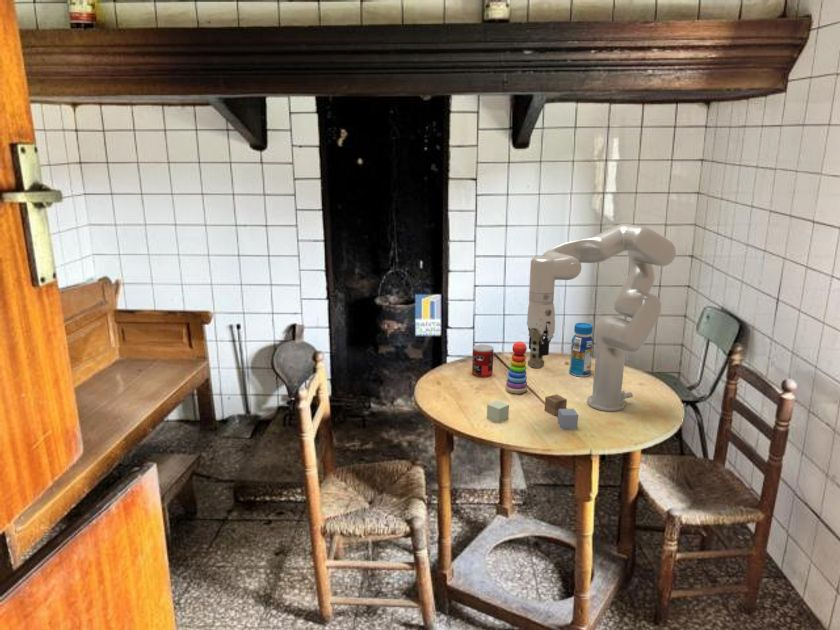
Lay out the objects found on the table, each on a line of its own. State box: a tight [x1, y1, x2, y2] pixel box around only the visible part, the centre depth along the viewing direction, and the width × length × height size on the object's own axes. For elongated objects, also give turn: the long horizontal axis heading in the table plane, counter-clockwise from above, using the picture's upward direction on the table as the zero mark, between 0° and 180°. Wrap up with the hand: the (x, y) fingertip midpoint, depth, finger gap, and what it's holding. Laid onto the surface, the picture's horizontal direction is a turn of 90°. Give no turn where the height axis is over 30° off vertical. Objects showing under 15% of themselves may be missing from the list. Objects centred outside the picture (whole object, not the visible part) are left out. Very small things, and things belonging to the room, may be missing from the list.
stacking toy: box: [504, 341, 528, 395], centre depth 231 cm, size 8×8×19 cm
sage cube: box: [486, 400, 510, 424], centre depth 209 cm, size 5×5×5 cm
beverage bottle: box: [568, 322, 594, 378], centre depth 248 cm, size 8×8×20 cm
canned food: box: [471, 344, 494, 378], centre depth 248 cm, size 8×8×11 cm
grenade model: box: [527, 323, 547, 370], centre depth 200 cm, size 6×7×15 cm
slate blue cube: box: [557, 408, 579, 430], centre depth 204 cm, size 5×5×5 cm
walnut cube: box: [544, 394, 568, 416], centre depth 215 cm, size 5×5×5 cm
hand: (538, 351), depth 201 cm, fingers closed on grenade model, 5 cm apart
